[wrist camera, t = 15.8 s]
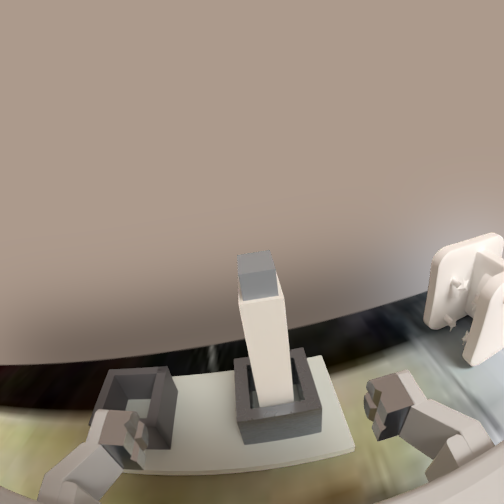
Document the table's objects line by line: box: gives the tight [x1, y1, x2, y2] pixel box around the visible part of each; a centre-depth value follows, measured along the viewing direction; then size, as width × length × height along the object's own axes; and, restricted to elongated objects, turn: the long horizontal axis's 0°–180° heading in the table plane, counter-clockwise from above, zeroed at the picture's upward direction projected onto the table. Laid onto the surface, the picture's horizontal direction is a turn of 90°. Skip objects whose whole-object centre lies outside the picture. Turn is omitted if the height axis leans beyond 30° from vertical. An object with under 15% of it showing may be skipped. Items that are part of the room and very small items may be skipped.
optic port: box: [234, 348, 322, 445], centre depth 27 cm, size 7×8×4 cm
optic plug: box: [237, 250, 294, 408], centre depth 24 cm, size 3×4×16 cm
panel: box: [89, 355, 355, 475], centre depth 27 cm, size 26×13×5 cm, turn 94°
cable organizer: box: [423, 232, 504, 366], centre depth 29 cm, size 15×11×12 cm
